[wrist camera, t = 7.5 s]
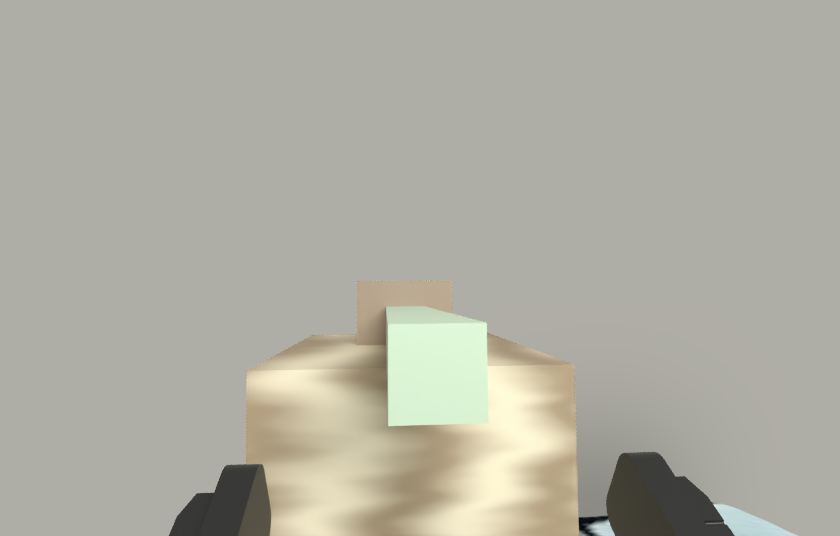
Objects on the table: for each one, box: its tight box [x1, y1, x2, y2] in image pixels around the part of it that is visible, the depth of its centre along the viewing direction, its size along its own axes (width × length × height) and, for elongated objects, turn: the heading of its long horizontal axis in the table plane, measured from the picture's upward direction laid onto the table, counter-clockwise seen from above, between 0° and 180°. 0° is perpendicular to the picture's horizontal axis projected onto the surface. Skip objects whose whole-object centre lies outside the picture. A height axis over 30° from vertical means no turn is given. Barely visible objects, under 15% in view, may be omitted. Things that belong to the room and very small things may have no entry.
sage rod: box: [357, 281, 488, 426], centre depth 24 cm, size 6×24×4 cm, turn 4°
